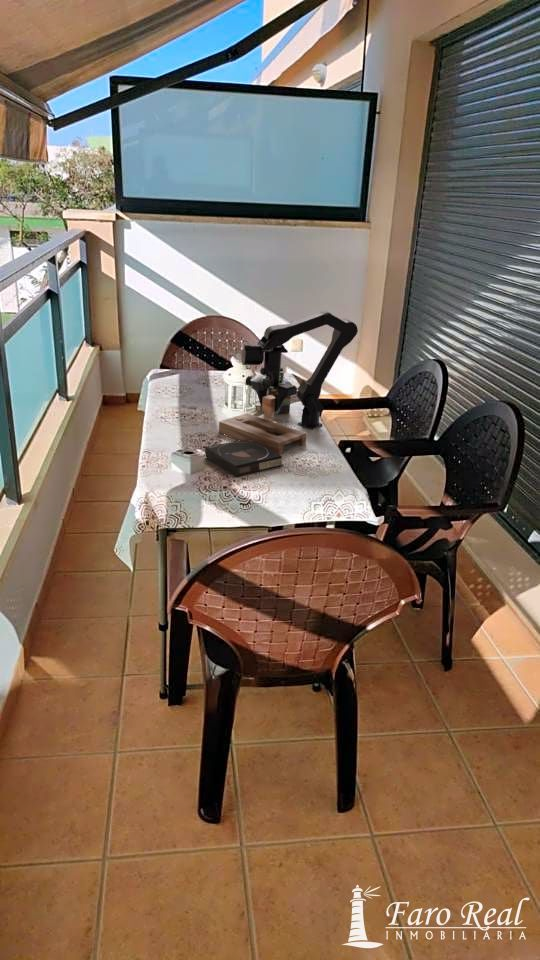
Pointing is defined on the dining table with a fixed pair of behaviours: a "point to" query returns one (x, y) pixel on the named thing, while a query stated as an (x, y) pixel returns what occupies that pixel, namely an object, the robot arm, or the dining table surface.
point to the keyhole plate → (261, 432)
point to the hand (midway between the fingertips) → (269, 409)
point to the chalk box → (286, 403)
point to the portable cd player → (243, 457)
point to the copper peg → (268, 407)
